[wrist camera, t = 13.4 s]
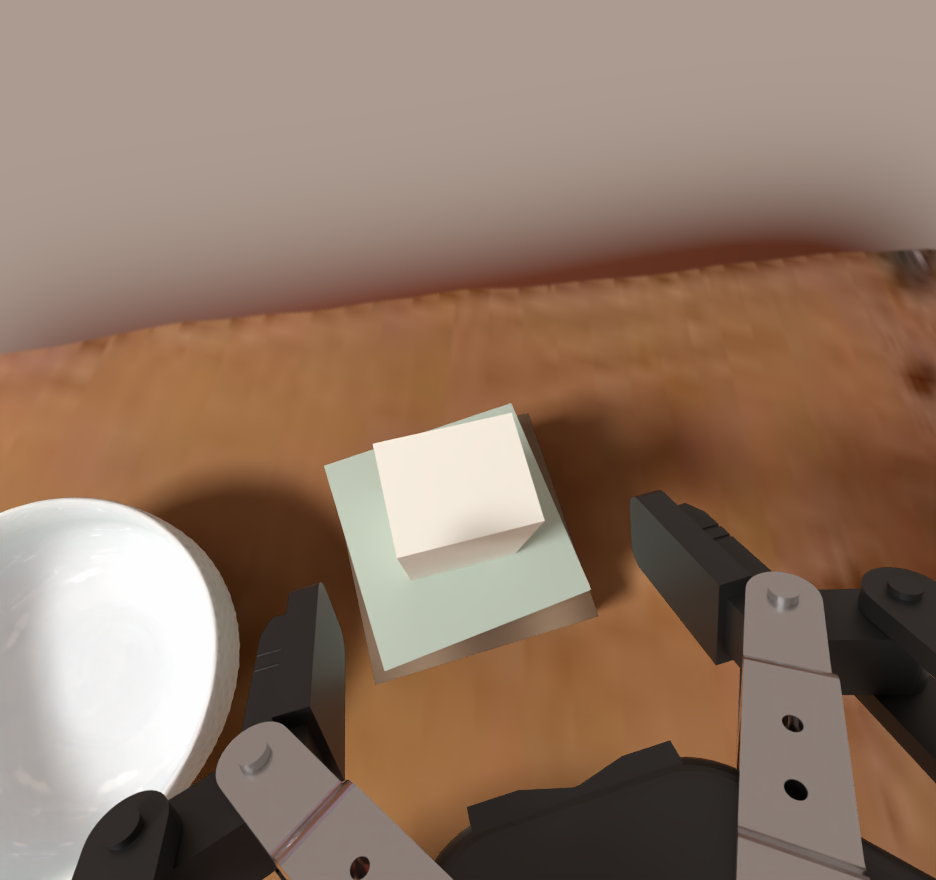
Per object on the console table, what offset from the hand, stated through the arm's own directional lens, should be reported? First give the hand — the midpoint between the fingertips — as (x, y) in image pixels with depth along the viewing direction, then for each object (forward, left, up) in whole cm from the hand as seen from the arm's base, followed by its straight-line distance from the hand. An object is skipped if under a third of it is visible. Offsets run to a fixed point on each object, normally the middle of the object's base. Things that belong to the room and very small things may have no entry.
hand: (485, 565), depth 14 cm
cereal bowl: (+20, -2, -19) cm, 28 cm away
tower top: (0, -3, -16) cm, 16 cm away
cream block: (0, -3, -12) cm, 12 cm away
